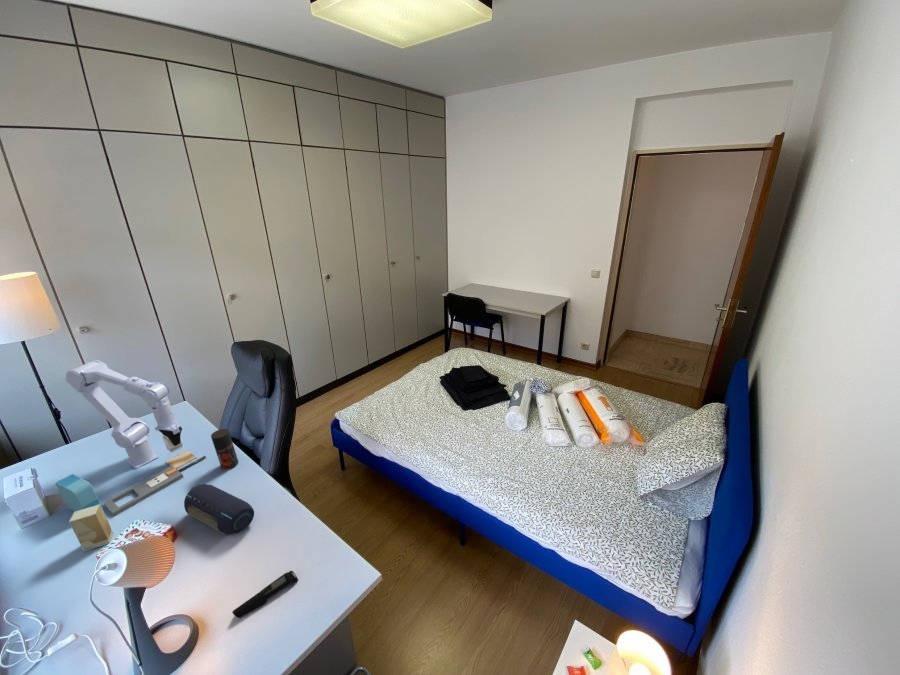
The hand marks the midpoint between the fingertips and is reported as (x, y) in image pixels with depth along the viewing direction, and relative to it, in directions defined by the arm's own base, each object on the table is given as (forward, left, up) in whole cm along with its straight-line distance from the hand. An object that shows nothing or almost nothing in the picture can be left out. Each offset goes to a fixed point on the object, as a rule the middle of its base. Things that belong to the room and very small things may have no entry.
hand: (174, 442), depth 143 cm
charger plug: (0, -1, -2) cm, 2 cm away
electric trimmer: (+81, -13, -9) cm, 82 cm away
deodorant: (+20, +9, -9) cm, 24 cm away
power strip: (+7, -10, -9) cm, 15 cm away
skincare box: (+20, -31, -9) cm, 38 cm away
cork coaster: (0, 0, -9) cm, 9 cm away
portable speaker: (+44, -7, -9) cm, 46 cm away
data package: (-1, -29, -9) cm, 30 cm away
